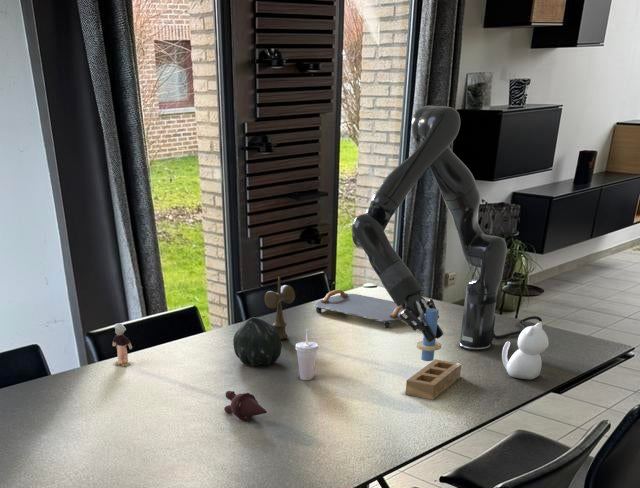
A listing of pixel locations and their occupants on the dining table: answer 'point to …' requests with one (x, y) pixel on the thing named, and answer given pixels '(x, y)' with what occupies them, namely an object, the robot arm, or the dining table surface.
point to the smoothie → (306, 358)
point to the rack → (433, 379)
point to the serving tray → (361, 307)
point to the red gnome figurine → (243, 405)
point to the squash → (257, 342)
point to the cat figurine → (526, 353)
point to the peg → (424, 345)
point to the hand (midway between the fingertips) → (436, 338)
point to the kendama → (280, 305)
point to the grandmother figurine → (121, 345)
